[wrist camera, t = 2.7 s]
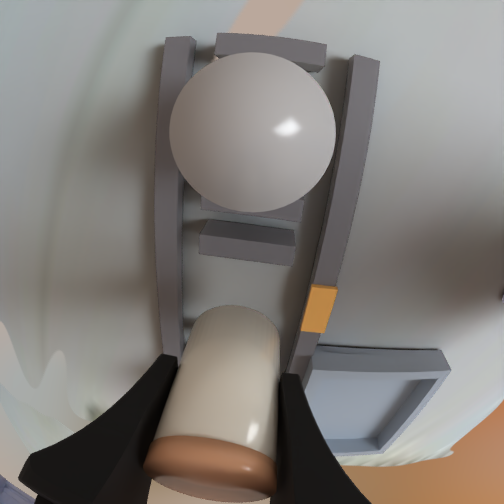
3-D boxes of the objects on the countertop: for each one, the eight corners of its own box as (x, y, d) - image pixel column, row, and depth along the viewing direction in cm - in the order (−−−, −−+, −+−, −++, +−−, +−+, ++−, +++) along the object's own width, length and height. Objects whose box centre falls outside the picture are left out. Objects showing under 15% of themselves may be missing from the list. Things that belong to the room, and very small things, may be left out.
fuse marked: (288, 311, 12) (289, 472, 6) (273, 374, 14) (265, 506, 8) (190, 297, 12) (130, 445, 6) (191, 362, 14) (153, 487, 8)
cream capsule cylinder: (312, 88, 12) (345, 66, 6) (300, 171, 14) (320, 222, 8) (224, 78, 12) (176, 49, 6) (215, 160, 14) (166, 203, 8)
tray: (441, 350, 18) (451, 370, 16) (379, 435, 24) (382, 453, 22) (310, 344, 19) (312, 369, 17) (277, 435, 24) (276, 455, 22)
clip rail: (375, 64, 11) (389, 58, 9) (286, 419, 23) (286, 437, 21) (172, 41, 11) (158, 32, 10) (174, 402, 23) (169, 420, 21)
